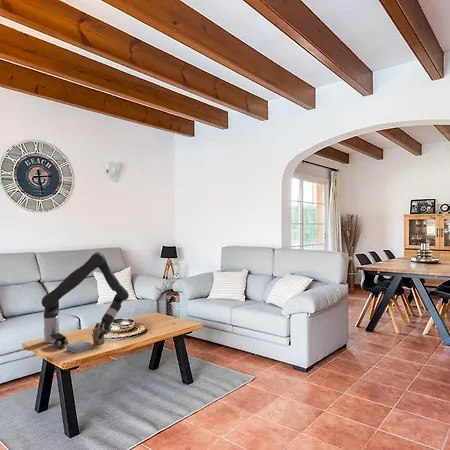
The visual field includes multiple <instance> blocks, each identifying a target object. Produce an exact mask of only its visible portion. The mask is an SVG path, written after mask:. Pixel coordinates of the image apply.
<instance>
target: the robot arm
mask: <svg viewBox="0 0 450 450" xmlns="http://www.w3.org/2000/svg"><path fill="white" fill-rule="evenodd" d="M105 257H106V256H105V255H104V253H102V252H100V251H99V252H98V251H97V252H94V253H93V254H92V255H90V257H89V259H88V260H86V261H85V263H83V264H82V265H81V266H80V267H78V268H77V269H75V270H74V271H72V272H71V273H70V274H68V275H67V276H66V277H65V278H64V279H63V280H62V281H61V282H59V285H57V286H56V287H55V288H54V289H53V290H52V291H50V292H49V293H47V294H45V295H44V296H43V297H42V298H41V306H42V307H43V308H44V313H43V326H44V327H43V338H44V343H46V344H52V339H53V337H52V336H50V335H51V334H56V333H60V320H59V317H60V316H59V313H60V312H59V311H60V300H61V299H62V298H63V297H64V296H66V294H68V293H70V292H71V291H72V290H74V289H75V288H77V286H79V285H80V284H81V283H83V281H85V279H86V278H87V277H88V276H89V275H90V274H91V273H92V272H94V271H96V269H99V270H100V272H101V274H102V275H103V276H104V279H105V281H106V283H107V285H108V286H109V288H110V289H111V291H113V292H115V293H116V294H115V295H114V297H113V299H112V303H111V304H110V305H109V307H108V308H107V310H106V311H105V312H104V315H102V317H101V322H96V323H95V326H94V328H93V329H95V328H102V332H101V334H100V335H99V337H98V339H100V340H101V338H102V337H103V335H104V336H105V335H108V333H109V332H110V331H111V329H112V328H113V326H112V324H113V323H114V320H115V319H116V317H117V315H118V313H119V311H120V309H121V308H122V303H123V301H127V300H128V299H129V295H130V294H129V291H127V289H126V288H125V287H124V286H123V285H122V284H121V283H120V281H119V279H118V278H117V277H116V275H115V274H114V272H113V271H112V269H111V267H110V265H109V264H108V262H107V258H105ZM103 331H104V332H103Z"/></svg>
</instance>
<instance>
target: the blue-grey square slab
mask: <svg viewBox="0 0 450 450" xmlns="http://www.w3.org/2000/svg"><path fill="white" fill-rule="evenodd" d="M92 343H93V342H88V341H83V340H78V341H76V342H72V343H70V344H67V345H65V348H66V349H65V350H66V351H68V352H72V353H75V354H79V353H82V352H84V351H87V350H90V349H92V348H93V344H92Z"/></svg>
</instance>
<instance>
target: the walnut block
mask: <svg viewBox="0 0 450 450" xmlns="http://www.w3.org/2000/svg"><path fill="white" fill-rule="evenodd" d="M94 328H95V327H94ZM94 328H93V329H92V343H93V344H92V345H96V346H100V345H103V344H105V335H103V337H102V338H101V340H100V339H98V337H99V335H100V334H101V332H102V328H95V329H94ZM103 332H104V331H103Z"/></svg>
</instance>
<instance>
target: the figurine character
mask: <svg viewBox="0 0 450 450" xmlns="http://www.w3.org/2000/svg"><path fill="white" fill-rule="evenodd" d="M50 336H52V337H53V339H52V343H51V344H52V345H53V346H55V347H57V348H58V349H59V350H61V349H62V347H63V348H66V346H67V345H69V339H67V336H65V335H63V334H62V333H60V332H59V333H56V334H51V335H50Z"/></svg>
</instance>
